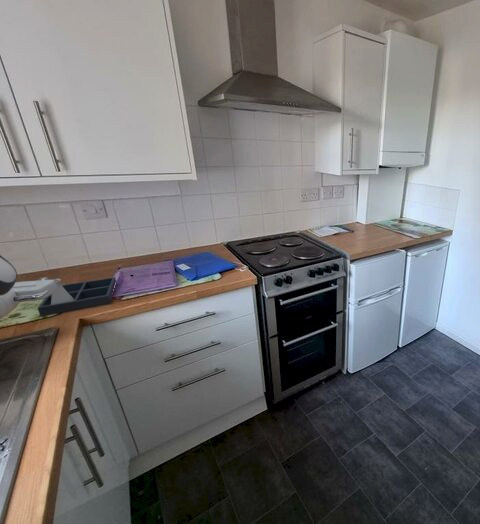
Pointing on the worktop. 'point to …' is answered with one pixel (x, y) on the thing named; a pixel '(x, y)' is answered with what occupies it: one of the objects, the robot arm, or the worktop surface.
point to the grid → (81, 296)
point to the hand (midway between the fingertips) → (26, 280)
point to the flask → (60, 294)
